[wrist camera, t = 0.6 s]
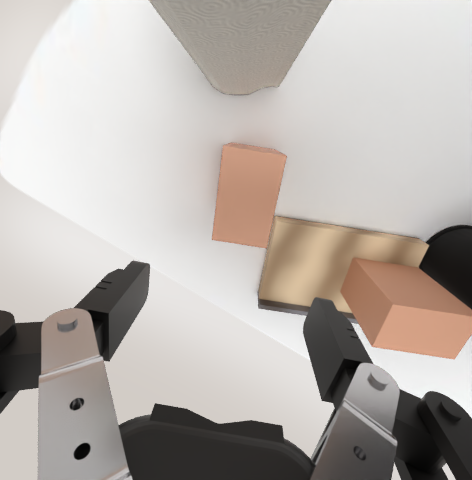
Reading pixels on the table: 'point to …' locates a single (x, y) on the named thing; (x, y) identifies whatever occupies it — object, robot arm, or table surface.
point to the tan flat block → (323, 262)
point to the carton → (247, 194)
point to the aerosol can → (451, 261)
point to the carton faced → (406, 309)
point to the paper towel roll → (242, 37)
